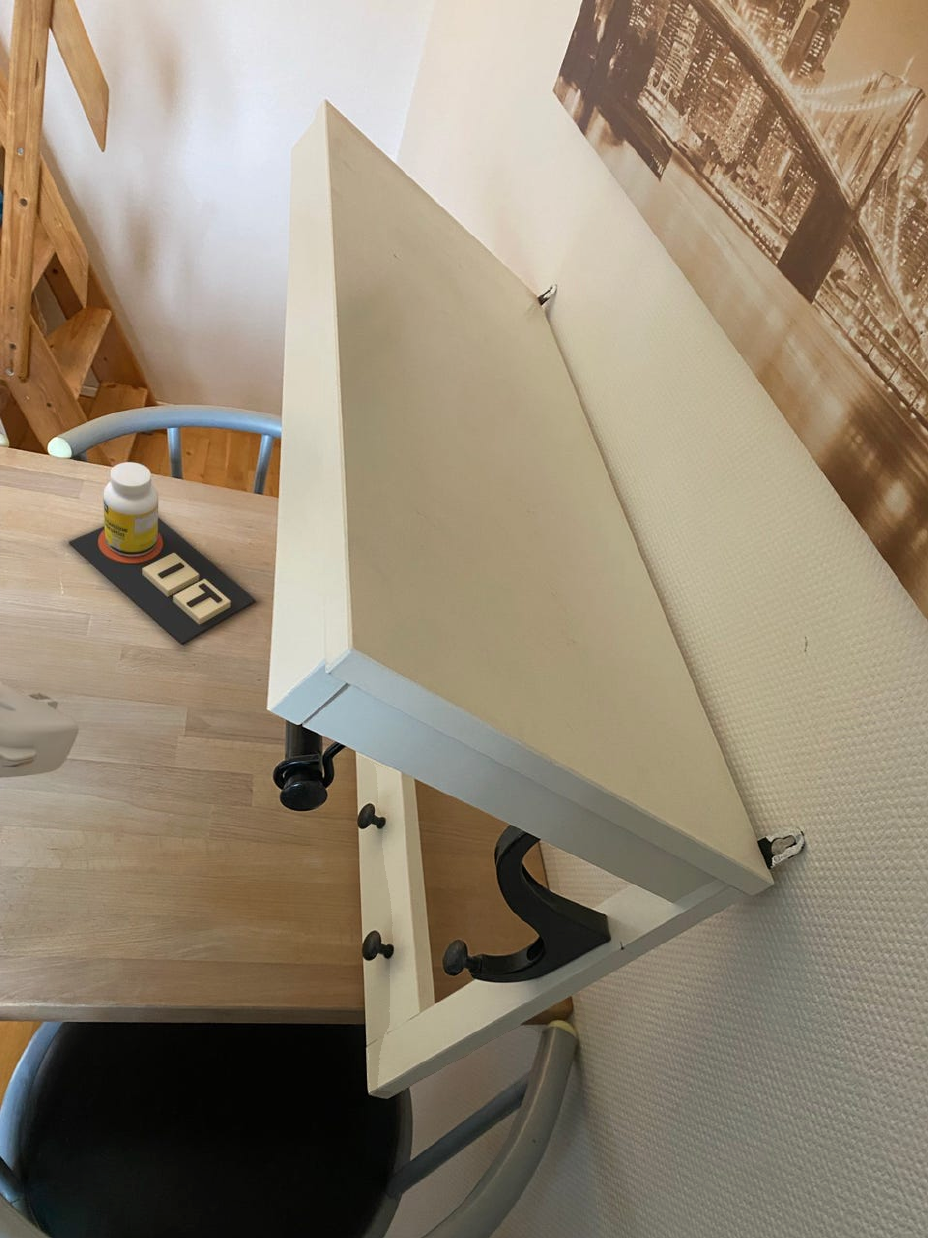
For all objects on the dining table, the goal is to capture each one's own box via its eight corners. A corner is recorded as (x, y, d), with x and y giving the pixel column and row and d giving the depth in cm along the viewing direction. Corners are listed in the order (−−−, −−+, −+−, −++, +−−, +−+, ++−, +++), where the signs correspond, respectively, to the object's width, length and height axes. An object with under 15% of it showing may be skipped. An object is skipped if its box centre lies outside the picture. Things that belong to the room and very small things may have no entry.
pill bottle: (100, 528, 109) (96, 458, 101) (151, 522, 112) (151, 455, 104) (111, 562, 106) (108, 493, 98) (163, 555, 109) (164, 488, 101)
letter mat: (69, 547, 107) (67, 533, 105) (146, 512, 115) (146, 499, 113) (181, 648, 101) (182, 635, 99) (255, 604, 109) (257, 592, 107)
